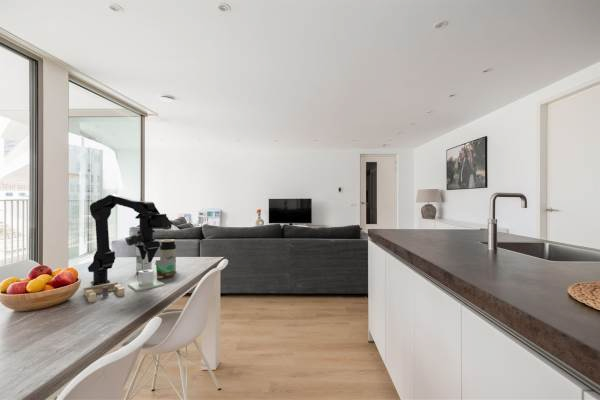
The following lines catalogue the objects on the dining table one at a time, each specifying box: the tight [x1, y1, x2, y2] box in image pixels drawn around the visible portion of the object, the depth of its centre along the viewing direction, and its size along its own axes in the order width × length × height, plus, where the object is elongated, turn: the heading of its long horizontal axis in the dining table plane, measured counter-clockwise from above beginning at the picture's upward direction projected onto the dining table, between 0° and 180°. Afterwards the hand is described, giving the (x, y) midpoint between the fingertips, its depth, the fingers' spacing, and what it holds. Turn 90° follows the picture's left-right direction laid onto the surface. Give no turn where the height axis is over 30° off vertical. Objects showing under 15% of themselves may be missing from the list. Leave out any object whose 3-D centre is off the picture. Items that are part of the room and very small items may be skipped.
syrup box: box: [135, 246, 153, 273], centre depth 158 cm, size 6×6×14 cm
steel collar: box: [137, 269, 155, 286], centre depth 132 cm, size 5×5×6 cm
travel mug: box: [159, 238, 177, 273], centre depth 157 cm, size 8×8×18 cm
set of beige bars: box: [83, 281, 125, 303], centre depth 119 cm, size 13×12×4 cm
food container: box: [154, 256, 177, 280], centre depth 146 cm, size 12×6×10 cm, turn 168°
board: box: [127, 278, 165, 292], centre depth 132 cm, size 12×12×1 cm
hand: (146, 260), depth 132 cm, fingers open, 9 cm apart
